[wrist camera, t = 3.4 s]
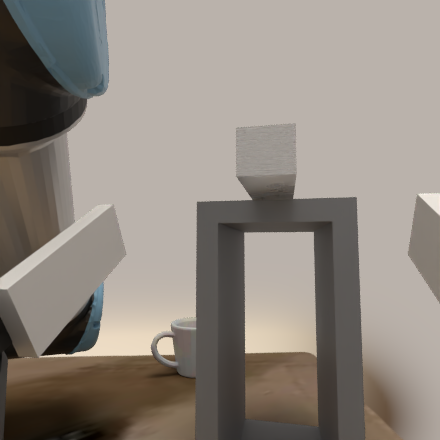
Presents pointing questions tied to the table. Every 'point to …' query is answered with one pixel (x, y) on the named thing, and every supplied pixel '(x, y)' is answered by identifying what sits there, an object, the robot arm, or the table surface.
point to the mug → (180, 346)
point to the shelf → (235, 317)
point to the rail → (267, 161)
